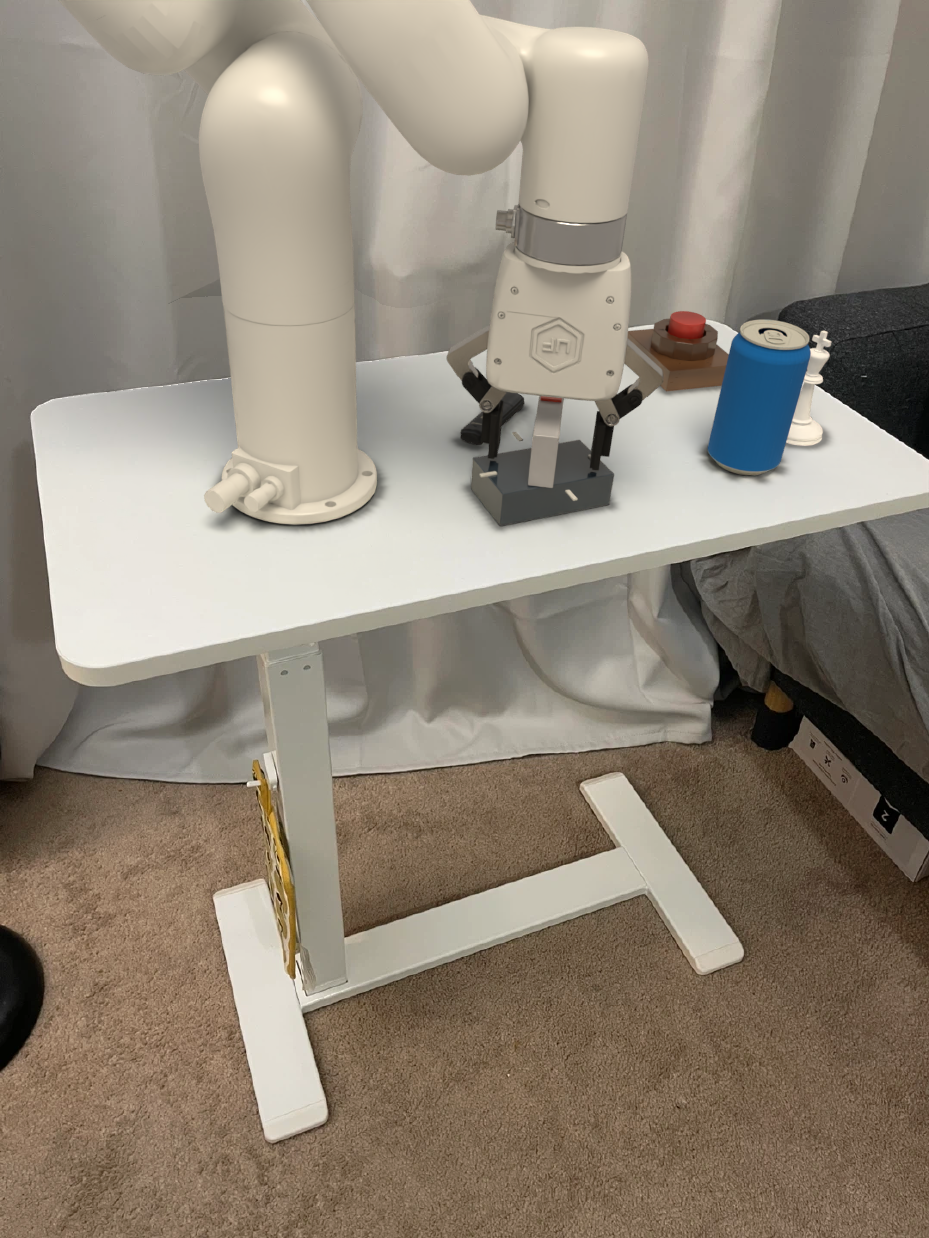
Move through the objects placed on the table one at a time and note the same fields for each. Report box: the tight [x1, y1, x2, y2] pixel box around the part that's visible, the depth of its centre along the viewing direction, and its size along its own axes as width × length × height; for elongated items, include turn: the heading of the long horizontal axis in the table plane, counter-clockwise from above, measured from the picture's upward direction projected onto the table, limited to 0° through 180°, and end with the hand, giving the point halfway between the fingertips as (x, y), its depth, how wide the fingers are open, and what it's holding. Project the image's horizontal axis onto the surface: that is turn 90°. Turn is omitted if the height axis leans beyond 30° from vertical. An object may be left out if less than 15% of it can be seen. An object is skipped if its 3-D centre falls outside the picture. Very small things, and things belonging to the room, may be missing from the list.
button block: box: [627, 318, 729, 393], centre depth 103 cm, size 10×8×4 cm
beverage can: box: [707, 319, 811, 476], centre depth 86 cm, size 6×6×12 cm
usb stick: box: [459, 392, 526, 446], centre depth 92 cm, size 10×3×2 cm, turn 153°
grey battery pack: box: [528, 396, 565, 488], centre depth 80 cm, size 7×2×5 cm, turn 172°
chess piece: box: [786, 330, 833, 447], centre depth 91 cm, size 5×5×10 cm
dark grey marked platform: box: [470, 431, 615, 527], centre depth 82 cm, size 11×11×3 cm
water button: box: [668, 310, 707, 339], centre depth 102 cm, size 4×4×2 cm
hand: (544, 455), depth 81 cm, fingers open, 7 cm apart
